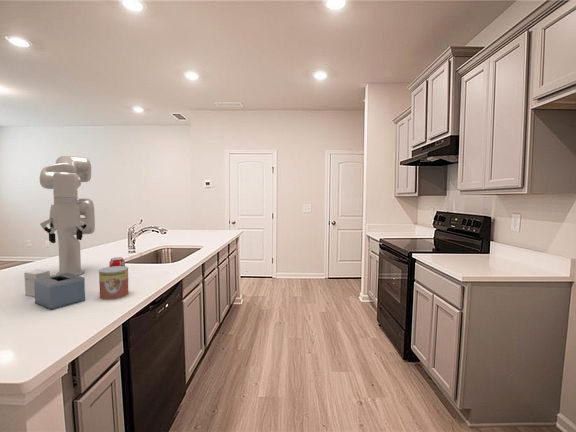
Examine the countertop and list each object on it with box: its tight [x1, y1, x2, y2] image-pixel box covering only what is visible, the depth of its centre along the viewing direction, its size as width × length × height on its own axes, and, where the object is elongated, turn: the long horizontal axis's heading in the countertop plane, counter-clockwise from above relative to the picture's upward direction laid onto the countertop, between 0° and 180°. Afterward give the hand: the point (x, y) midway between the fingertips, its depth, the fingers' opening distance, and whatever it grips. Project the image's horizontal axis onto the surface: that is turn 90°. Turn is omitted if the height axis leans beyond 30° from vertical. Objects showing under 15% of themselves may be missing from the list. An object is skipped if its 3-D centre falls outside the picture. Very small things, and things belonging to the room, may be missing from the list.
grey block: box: [34, 273, 86, 311], centre depth 119 cm, size 14×12×10 cm
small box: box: [23, 269, 51, 298], centre depth 127 cm, size 8×6×10 cm
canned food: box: [98, 265, 130, 301], centre depth 128 cm, size 11×11×12 cm
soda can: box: [108, 256, 126, 267], centre depth 149 cm, size 7×7×12 cm
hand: (66, 241), depth 123 cm, fingers open, 9 cm apart
